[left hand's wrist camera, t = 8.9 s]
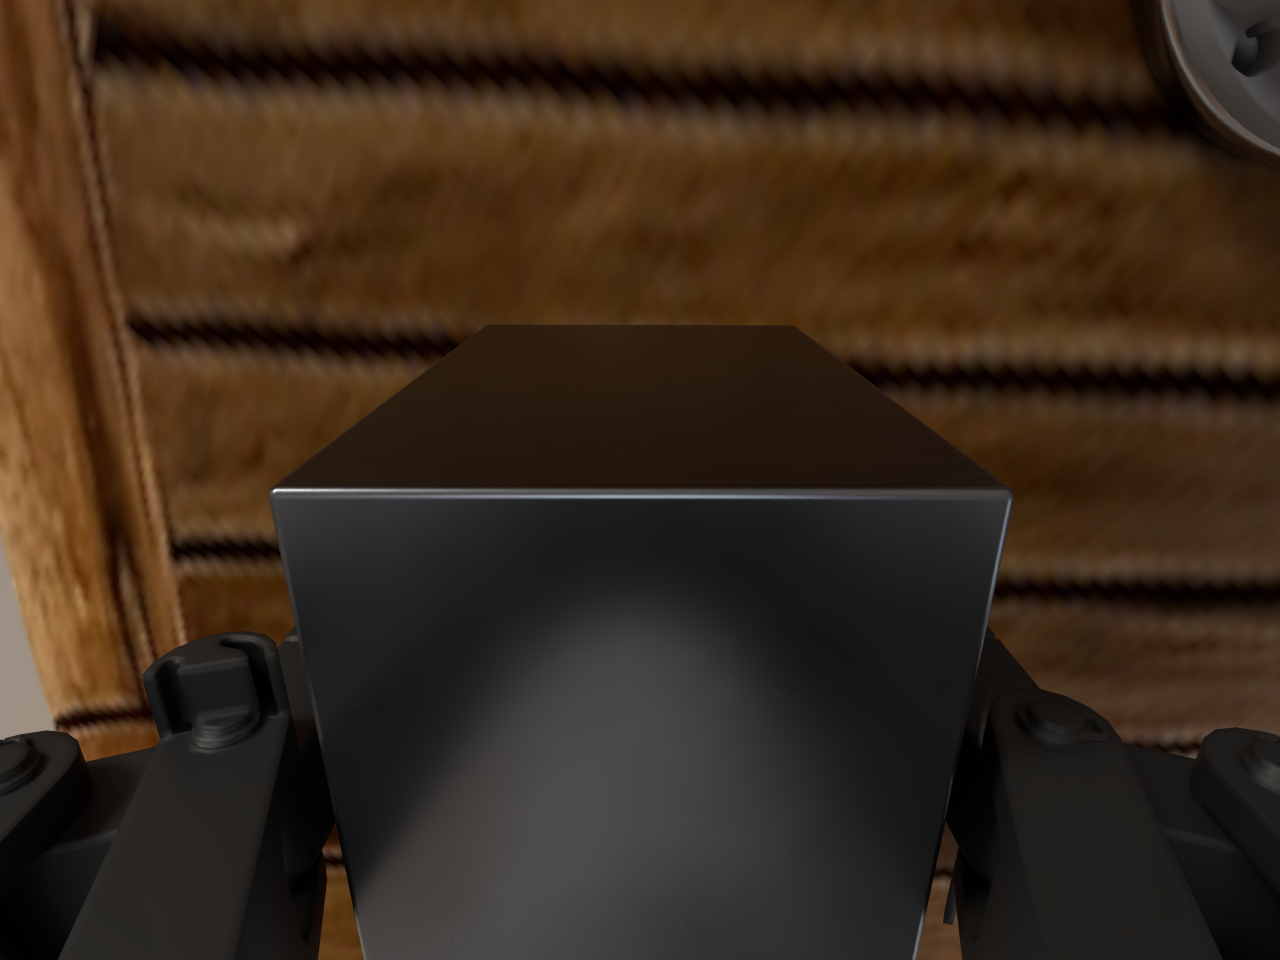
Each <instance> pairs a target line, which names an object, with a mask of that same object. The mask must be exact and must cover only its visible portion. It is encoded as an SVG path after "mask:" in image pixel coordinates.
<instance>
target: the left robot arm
mask: <svg viewBox="0 0 1280 960" xmlns="http://www.w3.org/2000/svg"><path fill="white" fill-rule="evenodd" d="M1131 1H1132V7H1133V12H1134V18H1135V23H1136V28H1137V31H1138V34H1139V38H1140V41H1141V45H1142V48H1143V51H1144V53H1145V56H1146V58H1147V61H1148V63H1149V65H1150V68H1151V70H1152V73H1153V74H1154V76H1155V78H1156V80H1157V82H1158V83H1159V85H1160V87H1161V89H1162V91H1163V92H1164V94H1165V95H1166V97H1167V98H1168V99H1169V101H1170V102H1171V103H1172V105H1173V106H1174V107H1175V109H1176V110H1177V111H1178V112H1179V113H1180V114H1181V116H1182V117H1183V118H1184V119H1185V120H1186V121H1187V122H1188V123H1189V124H1190V125H1191V126H1192V127H1193V128H1194V129H1196V130H1197V131H1198V132H1199V133H1201V134H1202V135H1203V136H1204V137H1206V138H1207V139H1208V140H1210V141H1211V142H1213V143H1215V144H1216V145H1218V146H1219V147H1221V148H1223V149H1224V150H1226V151H1228V152H1230V153H1233V154H1235V155H1237V156H1239V157H1242V158H1244V159H1246V160H1250V161H1253V162H1256V163H1260V164H1263V165H1267V166H1273V167H1278V168H1280V0H1131ZM141 678H142V681H143V684H144V687H145V691H146V694H147V697H148V700H149V703H150V707H151V710H152V713H153V716H154V720H155V723H156V726H157V729H158V732H159V736H160V740H159V742H158V744H157V746H155V747H152V748H148V749H144V750H140V751H135V752H130V753H125V754H121V755H116V756H111V757H106V758H102V759H97V760H92V761H88V762H85V759H84V756H83V754H82V751H81V748H80V746H79V743H78V741H77V740H76V739H75V738H73V737H72V736H71V735H69V734H68V733H66V732H56V731H40V732H33V733H27V734H20V735H16V736H12V737H8V738H5V739H4V740H0V960H318V954H319V945H320V936H321V928H322V919H323V911H324V902H325V893H326V885H327V874H326V867H325V861H324V857H323V852H322V849H323V847H324V845H325V843H326V841H327V839H328V837H329V835H330V833H331V831H332V829H333V827H334V825H335V823H336V821H335V816H334V811H333V807H332V802H331V797H330V792H329V787H328V782H327V777H326V773H325V768H324V763H323V758H322V753H321V748H320V743H319V739H318V734H317V729H316V724H315V719H314V714H313V709H312V705H311V700H310V695H309V690H308V685H307V680H306V675H305V671H304V666H303V661H302V656H301V651H300V646H299V641H298V637H297V632H296V627H294V628H293V629H292V631H291V632H290V633H289V634H288V636H287V637H286V641H285V642H282V643H281V644H280V645H279V646H278V648H277V646H276V642H274V641H273V640H272V639H270V638H269V637H268V636H266V635H265V634H260V633H254V632H249V631H242V632H225V633H220V634H216V635H212V636H208V637H203V638H199V639H197V640H194V641H192V642H190V643H187V644H185V645H182V646H180V647H177V648H175V649H173V650H172V651H170V652H169V653H167V654H165V655H164V656H162V657H161V658H159V659H158V660H156V661H155V662H153V664H152V665H151V666H150V667H149V668H148V669H147V670H146V671H145V672H144V674H143V675H142V676H141ZM946 822H947V824H948V826H949V828H950V830H951V832H952V834H953V836H954V838H955V840H956V842H957V844H958V846H959V848H958V852H957V857H956V861H955V866H954V870H953V875H952V879H951V884H950V888H949V893H948V897H947V902H946V906H945V912H944V919H943V923H946V924H950V925H953V922H954V918H955V913H956V909H957V917H958V926H959V935H960V943H961V952H962V960H1280V737H1278V736H1277V735H1274V734H1270V733H1266V732H1262V731H1256V730H1249V729H1242V728H1236V727H1235V728H1225V729H1216V730H1214V731H1213V732H1211V733H1210V734H1208V735H1207V736H1206V737H1204V739H1203V742H1202V745H1201V747H1200V750H1199V753H1198V756H1197V758H1196V759H1193V758H1189V757H1184V756H1179V755H1174V754H1170V753H1165V752H1160V751H1155V750H1151V749H1146V748H1141V747H1136V746H1133V745H1129V744H1125V743H1122V741H1121V738H1120V737H1119V735H1118V734H1117V733H1116V731H1115V730H1114V729H1113V727H1112V726H1111V725H1110V723H1109V722H1108V721H1107V720H1105V719H1104V718H1103V717H1101V716H1100V715H1099V714H1097V713H1096V712H1095V711H1093V710H1092V709H1091V708H1089V707H1087V706H1085V705H1083V704H1081V703H1079V702H1077V701H1075V700H1073V699H1071V698H1069V697H1066V696H1063V695H1060V694H1056V693H1052V692H1049V691H1045V690H1041V689H1040V688H1039V687H1038V686H1037V685H1036V684H1035V682H1034V681H1033V680H1032V679H1031V677H1030V676H1029V675H1028V674H1027V673H1026V671H1025V670H1024V669H1023V668H1022V667H1021V665H1020V664H1019V663H1018V662H1017V661H1016V659H1015V658H1014V657H1013V656H1012V655H1011V653H1010V652H1009V651H1008V650H1007V649H1006V647H1005V646H1004V645H1003V644H1002V643H1001V641H1000V640H999V639H995V634H994V633H993V632H992V631H991V629H990V628H989V627H988V626H987V628H986V633H985V637H984V642H983V647H982V651H981V656H980V661H979V665H978V670H977V675H976V680H975V684H974V689H973V694H972V698H971V703H970V708H969V713H968V717H967V722H966V727H965V731H964V736H963V741H962V745H961V750H960V755H959V760H958V764H957V769H956V774H955V778H954V783H953V788H952V793H951V797H950V802H949V807H948V811H947V816H946Z"/></svg>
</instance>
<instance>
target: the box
mask: <svg viewBox="0 0 1280 960" xmlns="http://www.w3.org/2000/svg"><path fill="white" fill-rule="evenodd" d="M269 501H270V505H271V510H272V515H273V520H274V525H275V530H276V535H277V539H278V544H279V549H280V554H281V559H282V564H283V569H284V573H285V578H286V583H287V588H288V593H289V598H290V603H291V607H292V612H293V617H294V622H295V627H296V632H297V637H298V641H299V646H300V651H301V656H302V661H303V666H304V671H305V675H306V680H307V685H308V690H309V695H310V700H311V705H312V709H313V714H314V719H315V724H316V729H317V734H318V739H319V743H320V748H321V753H322V758H323V763H324V768H325V773H326V777H327V782H328V787H329V792H330V797H331V802H332V807H333V811H334V816H335V821H336V826H337V831H338V836H339V841H340V845H341V850H342V855H343V860H344V865H345V870H346V875H347V879H348V884H349V889H350V894H351V899H352V904H353V909H354V913H355V918H356V923H357V928H358V933H359V938H360V943H361V947H362V952H363V957H364V960H916V957H917V953H918V948H919V943H920V938H921V934H922V929H923V924H924V920H925V915H926V910H927V906H928V901H929V896H930V891H931V887H932V882H933V877H934V873H935V868H936V863H937V858H938V854H939V849H940V844H941V840H942V835H943V830H944V826H945V821H946V816H947V811H948V807H949V802H950V797H951V793H952V788H953V783H954V778H955V774H956V769H957V764H958V760H959V755H960V750H961V745H962V741H963V736H964V731H965V727H966V722H967V717H968V713H969V708H970V703H971V698H972V694H973V689H974V684H975V680H976V675H977V670H978V665H979V661H980V656H981V651H982V647H983V642H984V637H985V633H986V628H987V623H988V618H989V614H990V609H991V604H992V600H993V595H994V590H995V585H996V581H997V576H998V571H999V567H1000V562H1001V557H1002V552H1003V548H1004V543H1005V538H1006V534H1007V529H1008V524H1009V520H1010V515H1011V510H1012V505H1013V501H1014V498H1013V492H1012V490H1011V489H1010V488H1009V487H1008V486H1006V485H1005V484H1004V483H1003V482H1001V481H1000V480H999V479H997V478H996V477H995V476H993V475H992V474H991V473H989V472H988V471H987V470H985V469H984V468H983V467H981V466H980V465H979V464H977V463H976V462H975V461H973V460H972V459H971V458H969V457H968V456H967V455H965V454H964V453H963V452H961V451H960V450H959V449H957V448H956V447H955V446H953V445H952V444H951V443H949V442H948V441H947V440H945V439H944V438H943V437H941V436H940V435H939V434H937V433H936V432H935V431H933V430H932V429H931V428H929V427H928V426H927V425H925V424H924V423H923V422H922V421H920V420H919V419H918V418H916V417H915V416H914V415H912V414H911V413H910V412H908V411H907V410H906V409H904V408H903V407H902V406H900V405H899V404H898V403H896V402H895V401H894V400H892V399H891V398H890V397H888V396H887V395H886V394H884V393H883V392H882V391H880V390H879V389H878V388H876V387H875V386H874V385H872V384H871V383H870V382H868V381H867V380H866V379H864V378H863V377H862V376H860V375H859V374H858V373H856V372H855V371H854V370H852V369H851V368H850V367H848V366H847V365H846V364H845V363H843V362H842V361H841V360H839V359H838V358H837V357H835V356H834V355H833V354H831V353H830V352H829V351H827V350H826V349H825V348H823V347H822V346H821V345H819V344H818V343H817V342H815V341H814V340H813V339H811V338H810V337H809V336H807V335H806V334H805V333H803V332H802V331H801V330H799V329H798V328H797V327H795V326H756V325H487V326H485V327H484V328H482V329H481V330H480V331H478V332H477V333H476V334H474V335H473V336H472V337H470V338H469V339H468V340H466V341H465V342H464V343H462V344H461V345H460V346H458V347H457V348H456V349H454V350H453V351H452V352H450V353H449V354H448V355H446V356H445V357H444V358H442V359H441V360H440V361H438V362H437V363H436V364H435V365H433V366H432V367H431V368H429V369H428V370H427V371H425V372H424V373H423V374H421V375H420V376H419V377H417V378H416V379H415V380H413V381H412V382H411V383H409V384H408V385H407V386H405V387H404V388H403V389H401V390H400V391H399V392H397V393H396V394H395V395H393V396H392V397H391V398H389V399H388V400H387V401H386V402H384V403H383V404H382V405H380V406H379V407H378V408H376V409H375V410H374V411H372V412H371V413H370V414H368V415H367V416H366V417H364V418H363V419H362V420H360V421H359V422H358V423H356V424H355V425H354V426H352V427H351V428H350V429H348V430H347V431H346V432H344V433H343V434H342V435H340V436H339V437H338V438H336V439H335V440H334V441H333V442H331V443H330V444H329V445H327V446H326V447H325V448H323V449H322V450H321V451H319V452H318V453H317V454H315V455H314V456H313V457H311V458H310V459H309V460H307V461H306V462H305V463H303V464H302V465H301V466H299V467H298V468H297V469H295V470H294V471H293V472H291V473H290V474H289V475H287V476H286V477H285V478H283V479H282V480H281V481H280V482H278V483H277V484H276V485H274V486H273V487H272V488H271V490H270V495H269Z"/></svg>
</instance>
